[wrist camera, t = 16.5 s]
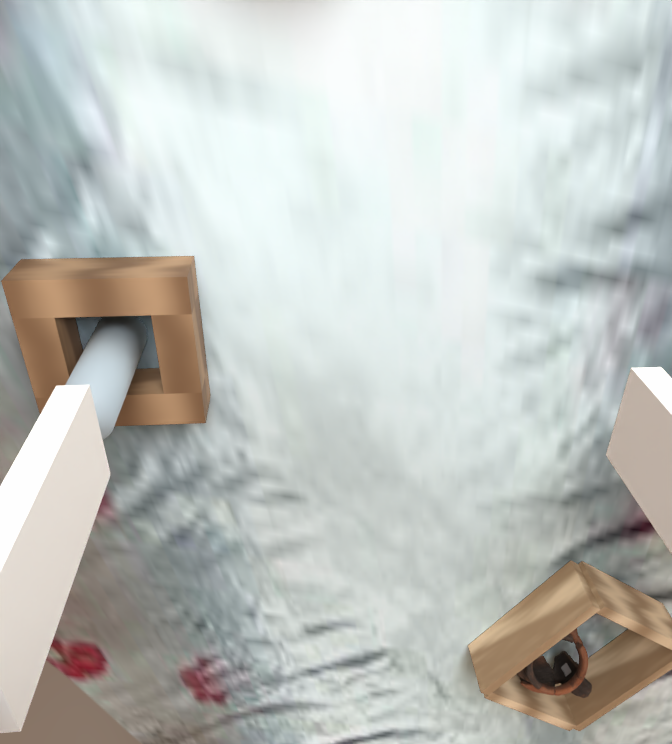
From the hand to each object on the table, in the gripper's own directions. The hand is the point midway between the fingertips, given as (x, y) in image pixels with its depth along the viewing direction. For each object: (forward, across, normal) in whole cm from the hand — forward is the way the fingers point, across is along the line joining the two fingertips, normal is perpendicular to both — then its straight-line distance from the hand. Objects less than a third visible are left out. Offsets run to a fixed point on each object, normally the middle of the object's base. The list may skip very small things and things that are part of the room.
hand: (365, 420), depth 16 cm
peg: (+35, -16, -16) cm, 41 cm away
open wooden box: (+35, +30, -57) cm, 73 cm away
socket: (+35, -16, -16) cm, 41 cm away
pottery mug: (+35, +27, -59) cm, 74 cm away
